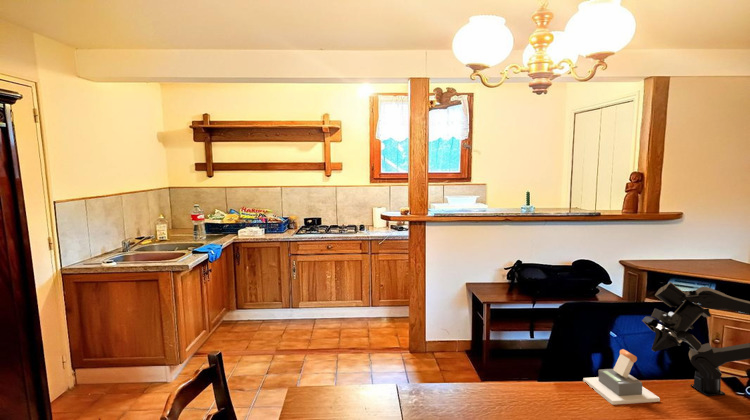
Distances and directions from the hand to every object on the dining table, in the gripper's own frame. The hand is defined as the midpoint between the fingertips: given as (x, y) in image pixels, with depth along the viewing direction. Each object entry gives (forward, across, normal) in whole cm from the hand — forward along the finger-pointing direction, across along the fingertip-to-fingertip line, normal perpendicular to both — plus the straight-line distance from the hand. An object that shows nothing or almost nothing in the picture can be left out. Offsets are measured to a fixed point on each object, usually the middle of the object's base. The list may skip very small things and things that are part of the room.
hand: (653, 350), depth 130 cm
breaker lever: (+14, 0, -3) cm, 14 cm away
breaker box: (+18, 0, +1) cm, 18 cm away
